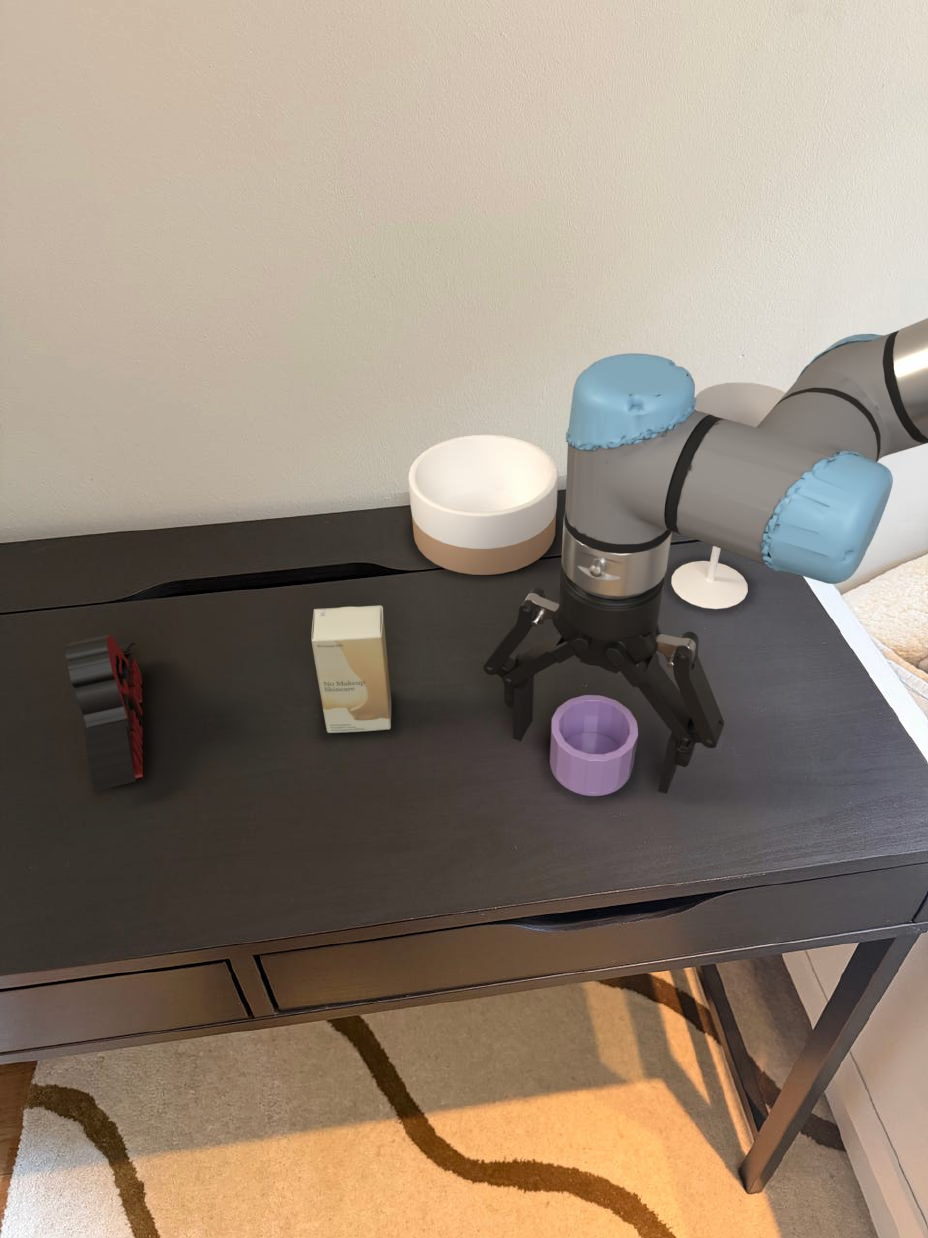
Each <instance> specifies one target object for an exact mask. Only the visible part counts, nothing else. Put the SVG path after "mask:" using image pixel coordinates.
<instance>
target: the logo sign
mask: <svg viewBox="0 0 928 1238" xmlns="http://www.w3.org/2000/svg"><path fill="white" fill-rule="evenodd" d="M134 645H136V643H135V642H129V643H128V642H127V643H125V644H120V645H119V644H117V642H116V640H115V637H114V636H113V635H111V634H105V635H101V636H95V637H92V638H91V637H90V638H86V639H82V640H77V641H76V640H75V641H71V642H68V644H67V645H65V648H64V653H65V659H66V662H67V663H66V664H67V669H68V673H69V678H70V683H71V685H72V687H73V688H74V692H75V696H76V699H77V703H78V706H79V709H80V710H81V714H82V715H83V721H84V723H85V726H86V728H84V737H85V738H84V739H85V745H86V753H87V760H88V766H89V772H90V776H91V777H90V778H91V780H92V786H93V790H94V791H95V792H97V791H100V790H105V789H109V788H110V789H111V788H113V787H118V786H122V785H127V784H130V783H134V782H137V779H138V778H143V777H144V760H143V759H144V757H143V755H144V754H143V748H142V747H143V740H142V739H143V727H142V726H143V725H144V724H143V723H144V722H143V719H142V717H143V709H142V707H141V704H142V703H143V689H142V685H143V676H142V673H141V670H140V668H139V665H138V662H137V660H136V658H133V656H134V655H135V654H136V652H131V649H132V648H133V646H134ZM140 703H141V704H140Z"/></svg>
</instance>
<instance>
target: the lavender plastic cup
mask: <svg viewBox="0 0 928 1238" xmlns="http://www.w3.org/2000/svg"><path fill="white" fill-rule="evenodd" d="M550 722H551V723H550V742H549V767H550V771H551V773H552V775H553V776H554V778H555V779H556V780H557V782H559V784H560V785H561V786H562V787H564V788H565V789H567V790H569V791H571V792H573V793H576V794H578V795H581V796H587V797H601V796H602V797H603V796H607V795H611V794H612V793H615V792H617V791H619V790H620V789H621V788H623V786H625V785H626V783H627V782H628V781H629V779H630V777H631V775H632V771H633V768H634V766H635V765H634V764H635V757H636V752H637V746H638V739H639V728H638V726H639V725H638V721H637V719H636V718H635V716H634V714H633V713H632V711H631V710H630V709H629V708H627V706H625V705H623V704H622V703H621V702H620V701H618V700H616V699H614V698H610V697H607V696H605V695H599V694H598V695H597V694H583V695H580V696H576V697H573V698H570V699H568V700H566V701H565V702H563V703H562V704H561V705H559V706H558V707H557V708H556V710H555V712H554V714H553V715H552V717H551V721H550Z"/></svg>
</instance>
